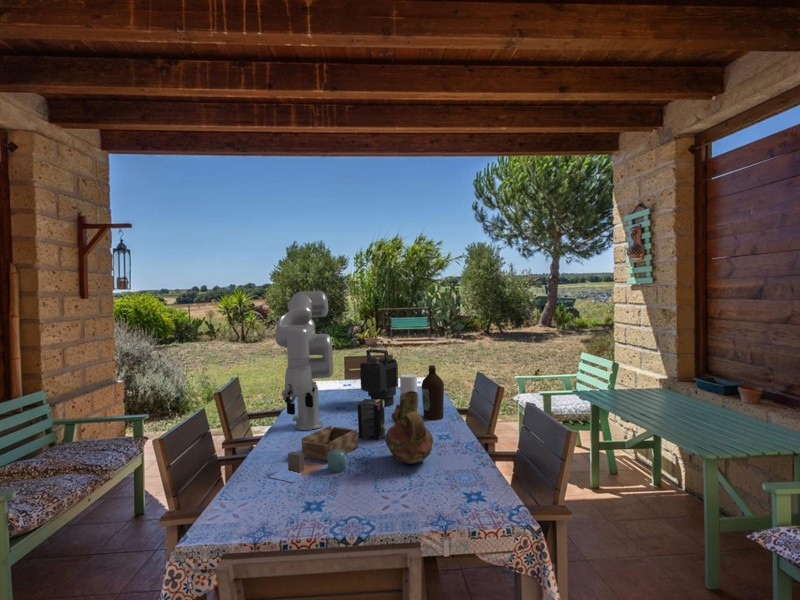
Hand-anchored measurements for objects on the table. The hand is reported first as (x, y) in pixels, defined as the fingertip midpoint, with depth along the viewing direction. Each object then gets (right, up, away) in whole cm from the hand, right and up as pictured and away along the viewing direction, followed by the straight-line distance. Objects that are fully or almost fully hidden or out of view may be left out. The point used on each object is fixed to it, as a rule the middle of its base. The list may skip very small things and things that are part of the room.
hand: (300, 410), depth 164 cm
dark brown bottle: (+51, -17, +57) cm, 79 cm away
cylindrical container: (+40, -18, +33) cm, 55 cm away
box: (+9, -19, +13) cm, 25 cm away
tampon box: (+24, -19, +33) cm, 44 cm away
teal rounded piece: (+13, -20, -4) cm, 24 cm away
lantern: (+25, -18, +85) cm, 90 cm away
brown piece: (0, -21, -4) cm, 21 cm away
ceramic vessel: (+39, -19, +3) cm, 43 cm away
